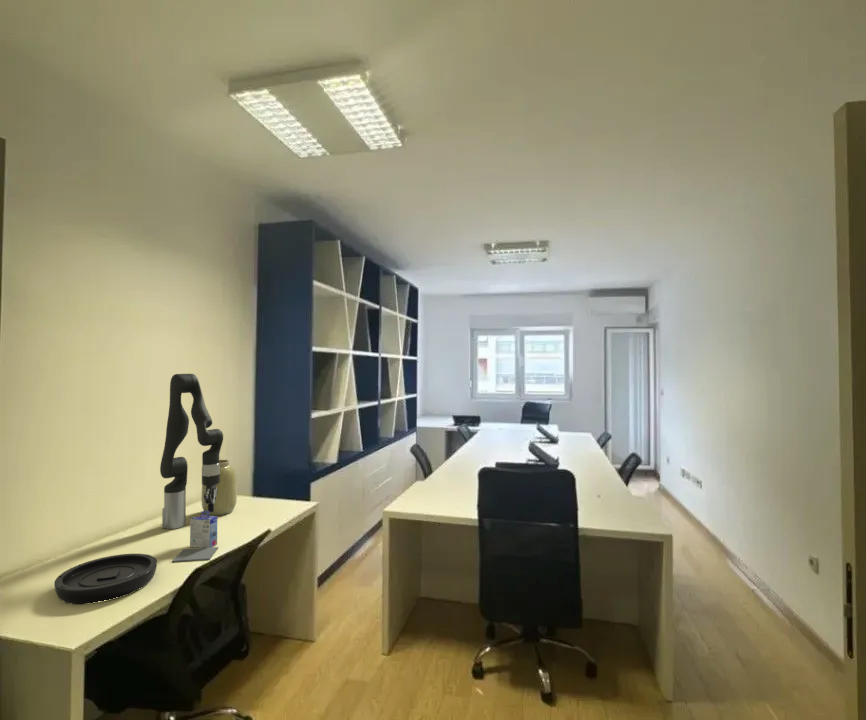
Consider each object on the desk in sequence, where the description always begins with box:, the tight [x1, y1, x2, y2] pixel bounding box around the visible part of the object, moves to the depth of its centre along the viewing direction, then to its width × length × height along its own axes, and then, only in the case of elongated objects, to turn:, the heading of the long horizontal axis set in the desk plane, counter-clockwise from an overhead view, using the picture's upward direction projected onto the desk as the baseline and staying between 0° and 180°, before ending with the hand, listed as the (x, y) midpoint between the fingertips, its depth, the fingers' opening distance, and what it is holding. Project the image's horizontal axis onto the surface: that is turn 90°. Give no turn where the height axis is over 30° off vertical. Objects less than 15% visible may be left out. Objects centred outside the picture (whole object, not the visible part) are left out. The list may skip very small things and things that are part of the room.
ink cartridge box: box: [189, 510, 218, 548], centre depth 204 cm, size 10×6×14 cm, turn 80°
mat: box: [171, 546, 219, 563], centre depth 193 cm, size 14×12×1 cm
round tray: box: [53, 553, 158, 605], centre depth 167 cm, size 30×6×30 cm
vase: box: [201, 459, 238, 517], centre depth 250 cm, size 17×17×27 cm
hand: (211, 511), depth 213 cm, fingers closed
